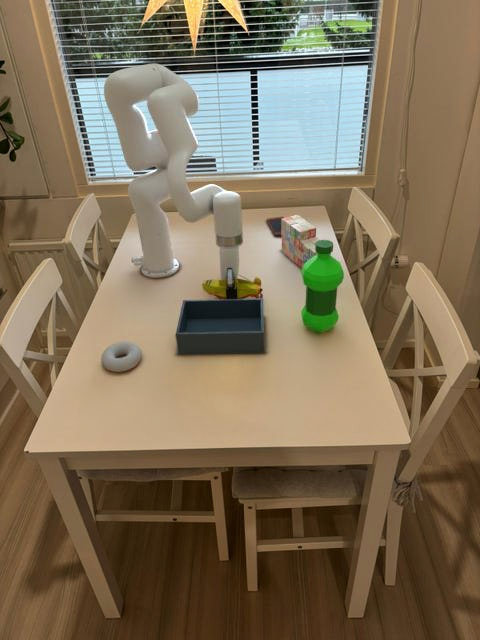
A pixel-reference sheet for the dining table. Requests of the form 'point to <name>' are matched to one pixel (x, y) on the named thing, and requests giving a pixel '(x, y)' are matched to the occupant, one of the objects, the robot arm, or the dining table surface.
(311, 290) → the plastic bottle
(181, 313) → the tote
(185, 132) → the robot arm
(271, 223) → the smartphone
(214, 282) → the yellow toy submarine
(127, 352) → the donut
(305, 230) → the stack of blocks
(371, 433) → the dining table surface
